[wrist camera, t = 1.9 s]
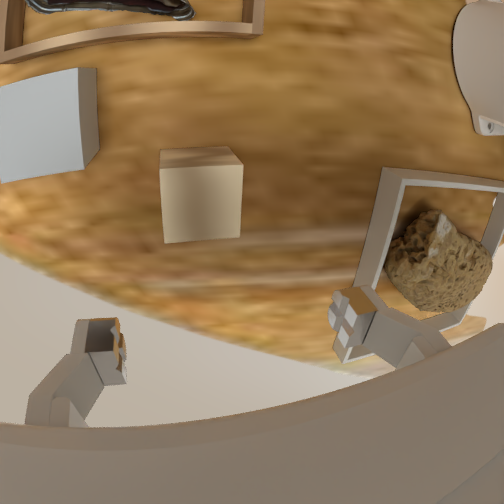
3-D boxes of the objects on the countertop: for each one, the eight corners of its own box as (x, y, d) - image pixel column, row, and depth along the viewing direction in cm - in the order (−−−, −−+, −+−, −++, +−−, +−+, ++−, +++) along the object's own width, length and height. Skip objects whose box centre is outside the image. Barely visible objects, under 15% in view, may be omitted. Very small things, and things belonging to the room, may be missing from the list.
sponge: (357, 260, 34) (433, 328, 41) (398, 286, 27) (466, 353, 34) (418, 171, 33) (478, 258, 39) (465, 178, 25) (515, 275, 32)
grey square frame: (503, 181, 33) (518, 190, 30) (450, 313, 46) (460, 324, 43) (382, 166, 27) (402, 178, 24) (332, 347, 40) (342, 364, 37)
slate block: (96, 68, 17) (77, 67, 13) (99, 149, 20) (84, 169, 16) (22, 84, 15) (-10, 90, 11) (29, 160, 18) (1, 183, 14)
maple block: (227, 146, 23) (243, 164, 19) (226, 206, 25) (239, 237, 21) (160, 149, 21) (159, 169, 17) (163, 211, 24) (164, 243, 20)
